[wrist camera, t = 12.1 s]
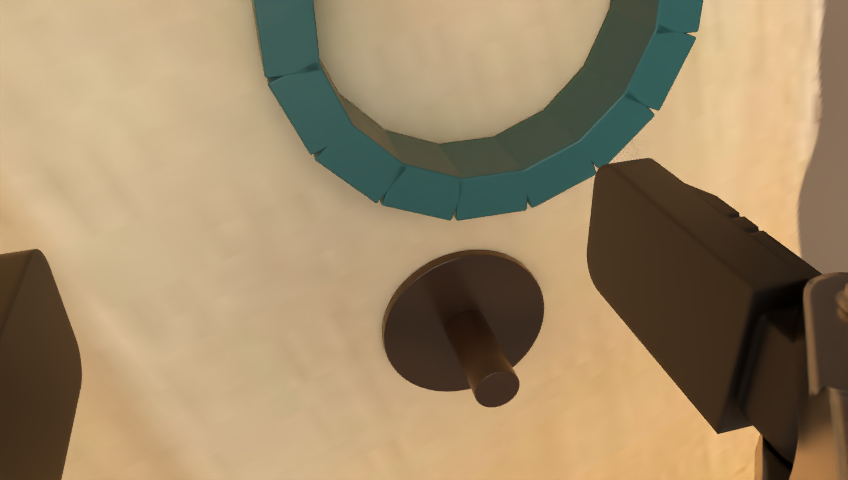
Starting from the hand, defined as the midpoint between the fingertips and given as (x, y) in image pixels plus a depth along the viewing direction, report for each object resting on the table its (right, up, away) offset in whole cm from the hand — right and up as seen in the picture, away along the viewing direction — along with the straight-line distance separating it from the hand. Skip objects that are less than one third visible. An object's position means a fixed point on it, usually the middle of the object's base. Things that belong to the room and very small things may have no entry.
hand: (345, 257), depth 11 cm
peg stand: (+3, -4, +24) cm, 24 cm away
